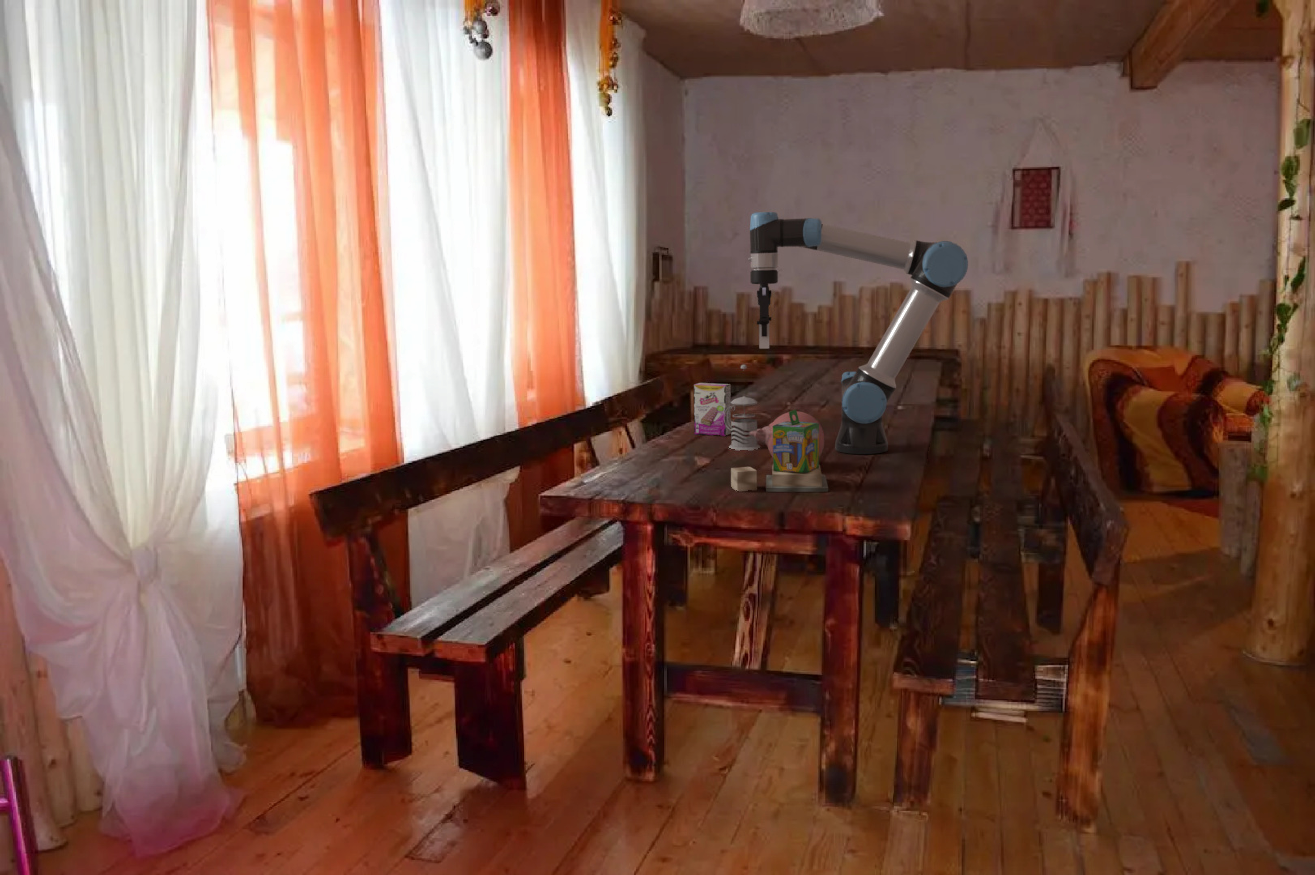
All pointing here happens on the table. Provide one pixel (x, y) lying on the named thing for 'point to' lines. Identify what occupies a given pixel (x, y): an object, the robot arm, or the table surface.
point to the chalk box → (795, 446)
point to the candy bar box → (712, 409)
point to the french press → (743, 425)
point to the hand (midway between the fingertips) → (764, 346)
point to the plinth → (796, 481)
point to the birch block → (744, 479)
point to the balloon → (767, 432)
